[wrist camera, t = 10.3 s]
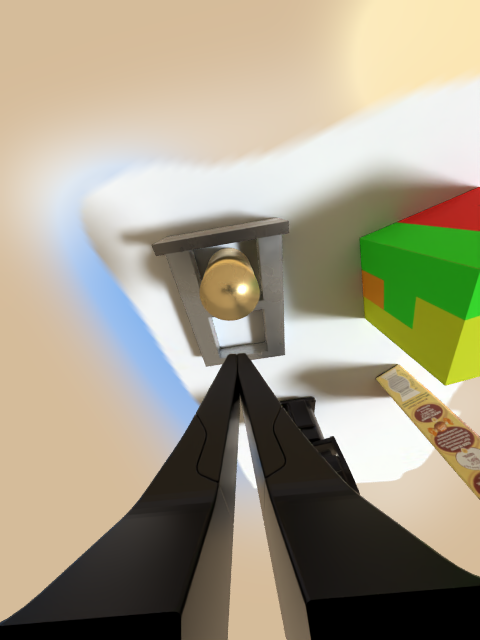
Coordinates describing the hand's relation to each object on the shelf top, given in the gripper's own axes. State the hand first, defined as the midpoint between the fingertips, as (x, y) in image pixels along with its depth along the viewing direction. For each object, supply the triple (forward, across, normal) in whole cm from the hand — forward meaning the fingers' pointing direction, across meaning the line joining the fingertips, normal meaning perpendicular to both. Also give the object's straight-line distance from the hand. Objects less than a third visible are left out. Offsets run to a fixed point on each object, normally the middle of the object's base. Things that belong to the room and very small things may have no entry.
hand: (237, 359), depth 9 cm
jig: (+12, 0, +3) cm, 12 cm away
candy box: (+12, -26, +20) cm, 34 cm away
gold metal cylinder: (+12, 0, -1) cm, 12 cm away
